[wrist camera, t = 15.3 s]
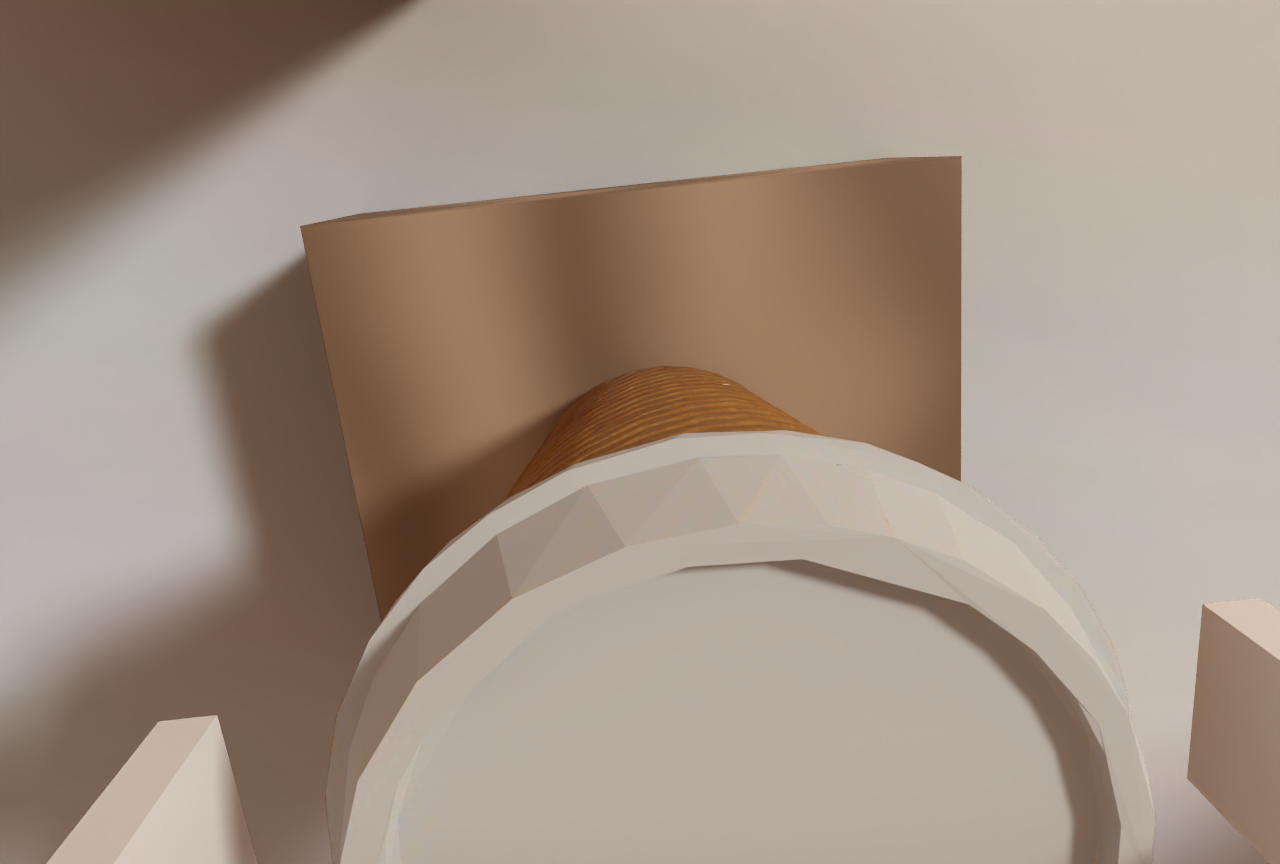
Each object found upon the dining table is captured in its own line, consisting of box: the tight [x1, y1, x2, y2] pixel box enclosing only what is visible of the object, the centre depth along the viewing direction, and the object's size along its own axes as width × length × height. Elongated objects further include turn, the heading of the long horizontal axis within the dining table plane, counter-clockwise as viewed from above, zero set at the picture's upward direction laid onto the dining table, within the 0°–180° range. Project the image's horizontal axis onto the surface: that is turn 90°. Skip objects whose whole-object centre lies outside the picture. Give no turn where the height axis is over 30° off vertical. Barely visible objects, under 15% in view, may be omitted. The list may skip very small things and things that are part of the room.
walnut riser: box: [300, 156, 961, 622], centre depth 23 cm, size 14×14×5 cm
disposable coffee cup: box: [325, 366, 1156, 864], centre depth 15 cm, size 10×10×12 cm
